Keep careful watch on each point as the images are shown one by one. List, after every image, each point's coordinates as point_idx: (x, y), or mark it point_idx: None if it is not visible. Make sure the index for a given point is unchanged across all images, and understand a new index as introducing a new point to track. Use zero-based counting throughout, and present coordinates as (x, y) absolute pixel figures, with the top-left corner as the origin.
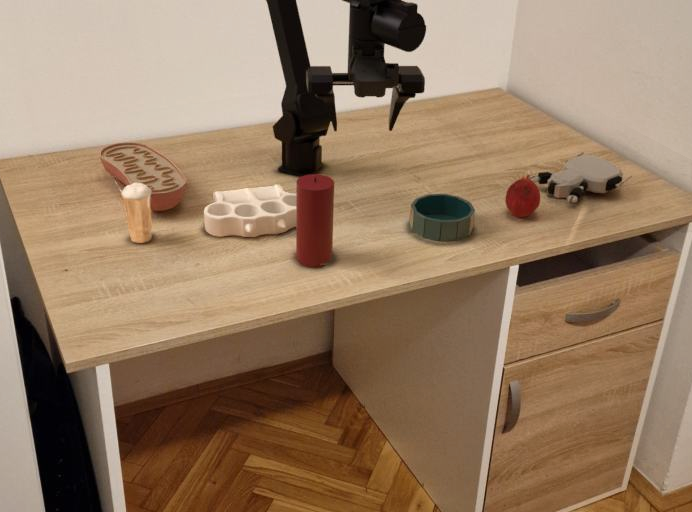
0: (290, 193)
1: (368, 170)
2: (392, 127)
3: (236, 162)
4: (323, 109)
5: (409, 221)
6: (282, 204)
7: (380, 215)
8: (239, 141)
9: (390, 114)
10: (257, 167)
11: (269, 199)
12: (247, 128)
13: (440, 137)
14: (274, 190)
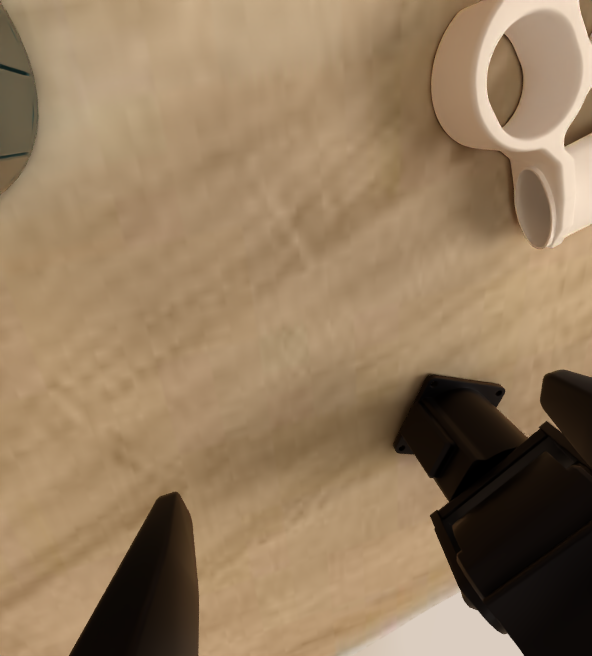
0: (543, 144)
1: (273, 457)
2: (150, 518)
3: None
4: (531, 587)
5: (27, 69)
6: (585, 33)
7: (186, 173)
8: None
9: (178, 644)
10: None
11: (586, 142)
12: None
13: None
14: (579, 183)
